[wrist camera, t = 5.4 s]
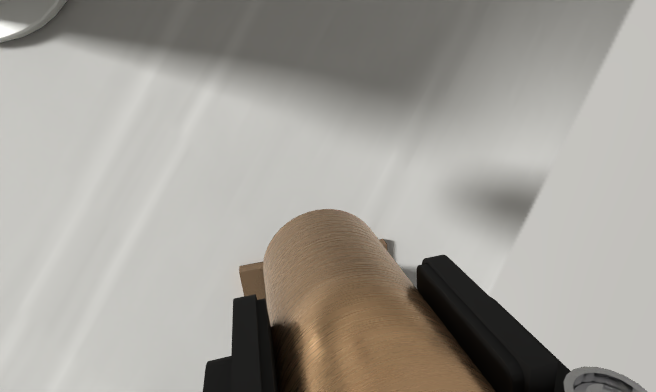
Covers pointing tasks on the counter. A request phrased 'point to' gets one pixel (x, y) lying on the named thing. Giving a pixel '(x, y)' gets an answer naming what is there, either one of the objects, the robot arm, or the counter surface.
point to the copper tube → (354, 315)
